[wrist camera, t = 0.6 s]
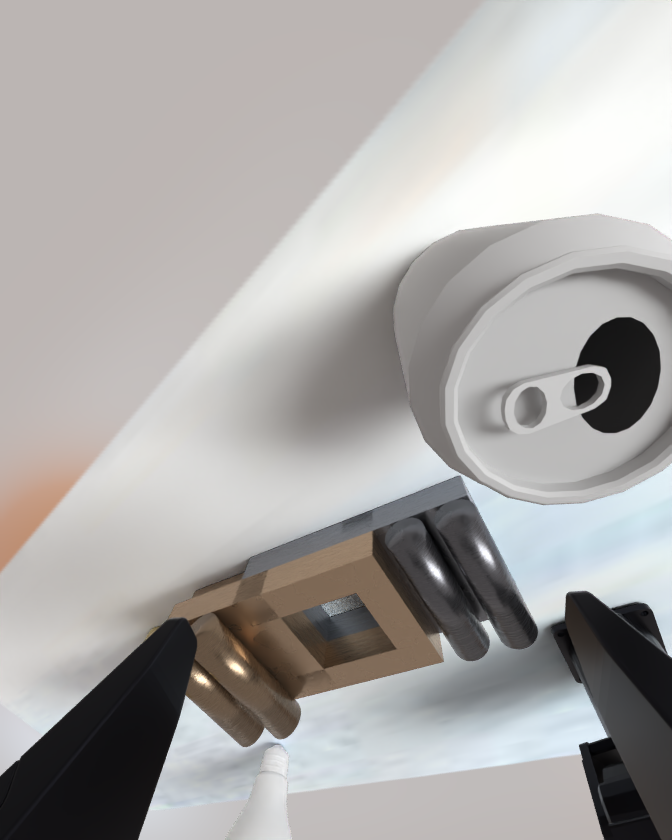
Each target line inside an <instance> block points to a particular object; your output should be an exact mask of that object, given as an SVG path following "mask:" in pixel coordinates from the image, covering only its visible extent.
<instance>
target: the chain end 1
mask: <svg viewBox="0 0 672 840" xmlns="http://www.w3.org/2000/svg"><path fill="white" fill-rule="evenodd" d="M243 575H244V573H241V574H239V575H236V576H233V577H231V578H228V579H225V580H223V581H220V582H217V583H215V584H212V585H210V586H207V587H204V588H202V589H199V590H196V591H195V593H194V595H193V597H192V599H189V600H186V601H184V602H181V603H178V604H176V605H175V606H174V608H173V610H172V612H171V614H170V616H169V617H168V619H170V618H175V617H185V618H186V619H187V620H188V622H189V624H190V626H191V627H192V629H193V631H194V633H195V635H196V637H197V651H196V655H195V659H194V663H193V667H192V671H191V675H190V679H189V683H188V687H187V691H186V696H187V697H188V698H189V699H191V700H192V701H193V702H194V703H195V704H196V705H197V706H198V707H199V708H200V709H201V710H203V711H204V712H205V713H206V714H207V715H208V716H209V717H210V718H211V719H212V720H213V721H215V722H216V723H217V724H218V725H219V726H220V727H221V728H222V729H223V730H224V731H225V732H227V733H228V734H229V735H230V736H231V737H232V738H233V739H234V740H235V741H236V742H238V743H239V744H240V745H241V746H242V747H248V746H251V745H252V744H254V743H255V742H256V741H257V740H258V738H259V737H260V736H261V734H262V732H263V730H264V727H265V728H266V729H267V730H268V731H269V732H270V733H271V734H272V735H273V736H274V737H275V738H277V739H284V738H287V737H288V736H289V735H291V734H292V732H293V731H294V730H295V729H296V727H297V725H298V723H299V720H300V715H301V709H300V706H299V704H298V703H297V702H296V700H295V699H299V698H302V697H306V696H310V695H314V694H318V693H322V692H326V691H330V690H334V689H338V688H342V687H346V686H350V685H354V684H358V683H362V682H366V681H370V680H374V679H378V678H382V677H386V676H390V675H394V674H398V673H402V672H406V671H409V670H413V669H417V668H421V667H425V666H429V665H433V664H437V663H441V662H444V659H443V653H442V647H441V641H440V635H439V632H438V631H437V629H436V628H435V626H434V624H433V623H432V621H431V620H430V618H429V617H428V615H427V614H426V612H425V611H424V609H423V608H422V606H421V604H420V603H419V601H418V600H417V598H416V597H415V595H414V594H413V592H412V591H411V589H410V588H409V586H408V584H407V583H406V581H405V580H404V578H403V577H402V575H401V574H400V572H399V571H398V569H397V568H396V566H395V564H394V563H393V561H392V560H391V558H390V557H389V555H388V554H387V552H386V551H385V549H384V548H383V546H382V545H381V543H380V541H379V540H378V538H377V537H376V535H375V534H374V532H373V531H370V532H368V533H365V534H362V535H360V536H357V537H354V538H352V539H349V540H346V541H344V542H341V543H338V544H336V545H333V546H330V547H328V548H325V549H322V550H320V551H317V552H314V553H312V554H309V555H306V556H304V557H301V558H298V559H296V560H293V561H290V562H288V563H285V564H282V565H280V566H277V567H274V568H272V569H269V570H266V571H264V572H261V573H258V574H256V575H253V576H250V577H248V578H245V579H242V577H243ZM355 593H356V594H357V595H358V596H359V598H360V599H361V600H362V602H363V603H364V605H365V606H366V607H367V609H368V610H369V611H370V613H371V614H372V616H373V617H374V618H375V620H376V621H377V623H378V624H379V625H380V626H378V627H374V628H371V629H368V630H364V631H361V632H358V633H354V634H351V635H347V636H344V637H341V638H337V639H334V640H330V641H326V640H325V639H324V637H323V636H322V635H321V634H320V632H319V631H318V630H317V629H316V627H315V626H314V625H313V624H312V623H311V621H310V620H309V619H308V618H307V616H306V615H305V614H304V613H303V612H302V611H303V610H306V609H309V608H312V607H315V606H318V605H321V604H324V603H327V602H330V601H333V600H336V599H339V598H343V597H346V596H349V595H352V594H355ZM168 619H167V620H168Z"/></svg>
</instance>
